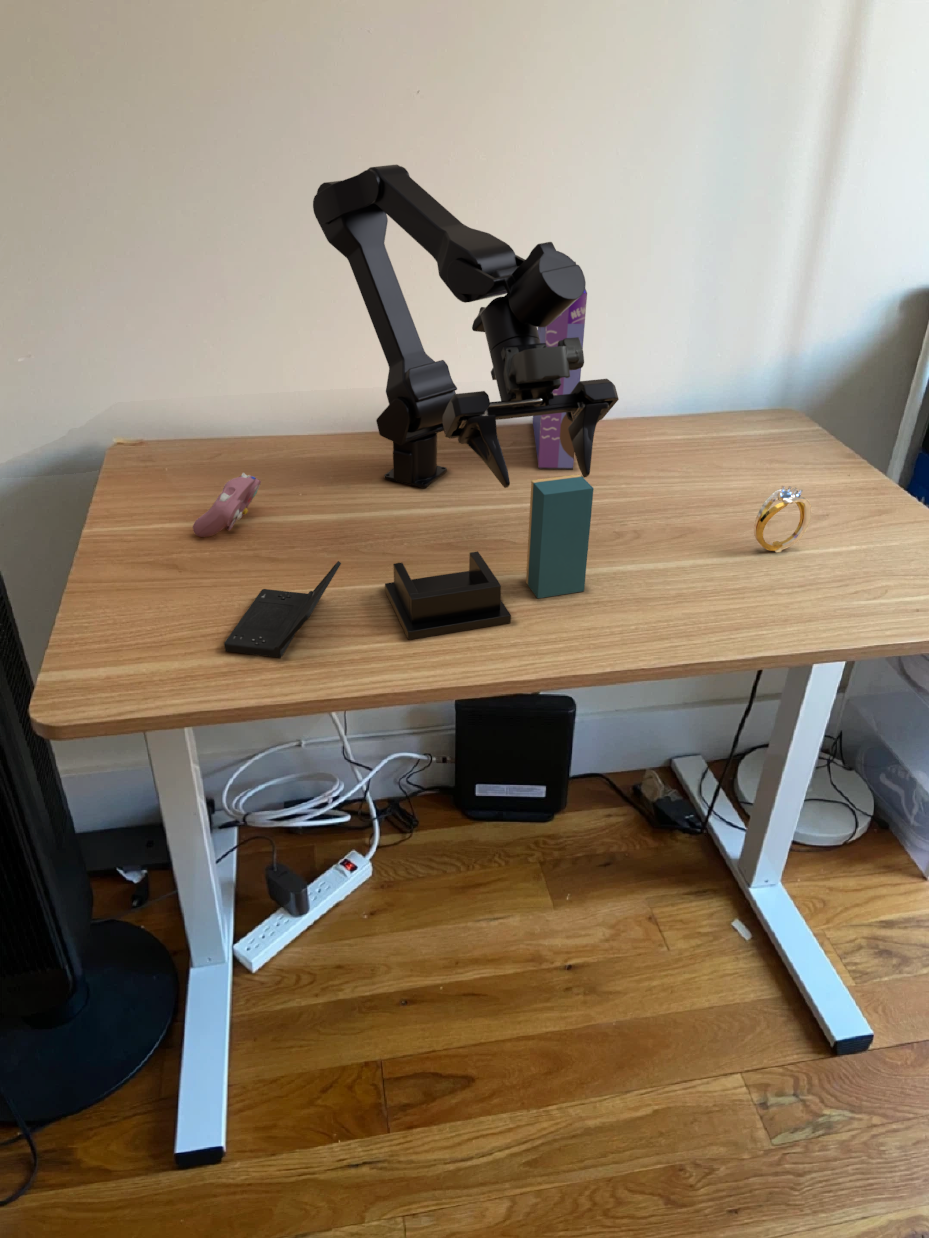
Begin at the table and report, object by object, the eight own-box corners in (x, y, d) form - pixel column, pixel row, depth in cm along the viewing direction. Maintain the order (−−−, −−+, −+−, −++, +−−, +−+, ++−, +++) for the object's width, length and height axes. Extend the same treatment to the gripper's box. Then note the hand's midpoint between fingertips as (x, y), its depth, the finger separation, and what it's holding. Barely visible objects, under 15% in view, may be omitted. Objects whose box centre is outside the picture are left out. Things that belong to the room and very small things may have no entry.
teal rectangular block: (525, 582, 105) (531, 480, 99) (571, 575, 107) (579, 474, 100) (537, 598, 103) (543, 494, 96) (584, 591, 104) (593, 488, 97)
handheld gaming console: (241, 582, 101) (290, 523, 96) (298, 615, 104) (349, 559, 99) (217, 656, 93) (269, 596, 87) (280, 689, 96) (334, 633, 90)
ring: (795, 541, 114) (809, 480, 110) (809, 553, 112) (824, 491, 107) (743, 547, 113) (754, 486, 108) (756, 560, 110) (769, 498, 106)
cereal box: (573, 469, 131) (587, 291, 118) (538, 468, 131) (549, 291, 118) (563, 423, 146) (575, 260, 133) (532, 422, 146) (541, 259, 133)
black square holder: (384, 591, 104) (383, 559, 101) (480, 576, 106) (481, 545, 104) (408, 640, 96) (407, 606, 93) (510, 623, 98) (512, 590, 96)
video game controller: (222, 553, 113) (240, 508, 109) (187, 534, 113) (205, 489, 109) (253, 516, 122) (272, 474, 118) (221, 499, 121) (239, 455, 117)
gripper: (449, 317, 95) (483, 462, 92) (619, 303, 100) (656, 441, 97) (429, 370, 105) (458, 502, 102) (583, 356, 110) (615, 481, 107)
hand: (547, 481), depth 102 cm, fingers open, 9 cm apart
